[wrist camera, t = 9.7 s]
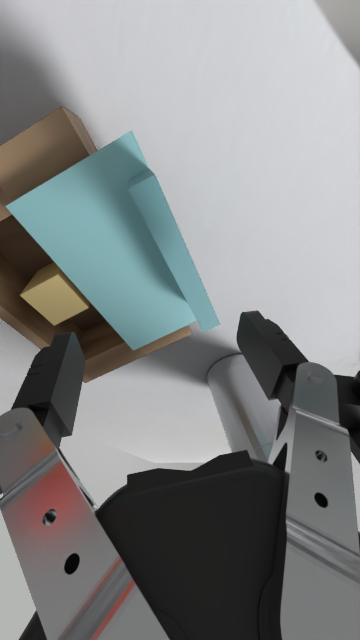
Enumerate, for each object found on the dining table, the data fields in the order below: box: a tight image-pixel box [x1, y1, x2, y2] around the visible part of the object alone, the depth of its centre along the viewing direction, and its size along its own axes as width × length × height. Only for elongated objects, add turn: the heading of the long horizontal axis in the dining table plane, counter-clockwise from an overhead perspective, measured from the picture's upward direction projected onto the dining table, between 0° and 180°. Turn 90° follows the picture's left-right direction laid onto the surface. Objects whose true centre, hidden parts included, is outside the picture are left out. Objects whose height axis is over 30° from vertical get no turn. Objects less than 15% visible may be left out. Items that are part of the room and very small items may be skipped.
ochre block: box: [20, 262, 90, 326], centre depth 22 cm, size 4×4×5 cm
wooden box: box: [0, 107, 192, 383], centre depth 22 cm, size 20×14×6 cm
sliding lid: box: [5, 131, 220, 350], centre depth 17 cm, size 15×9×5 cm, turn 24°
